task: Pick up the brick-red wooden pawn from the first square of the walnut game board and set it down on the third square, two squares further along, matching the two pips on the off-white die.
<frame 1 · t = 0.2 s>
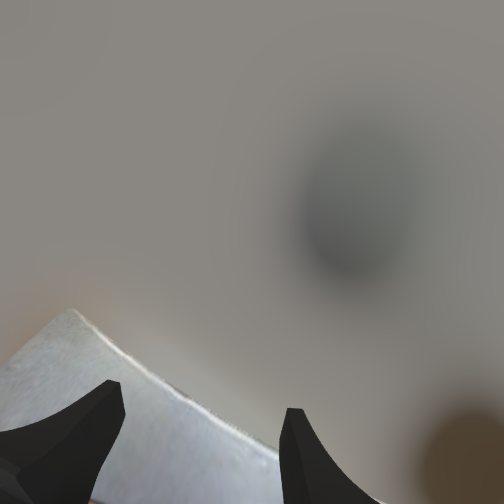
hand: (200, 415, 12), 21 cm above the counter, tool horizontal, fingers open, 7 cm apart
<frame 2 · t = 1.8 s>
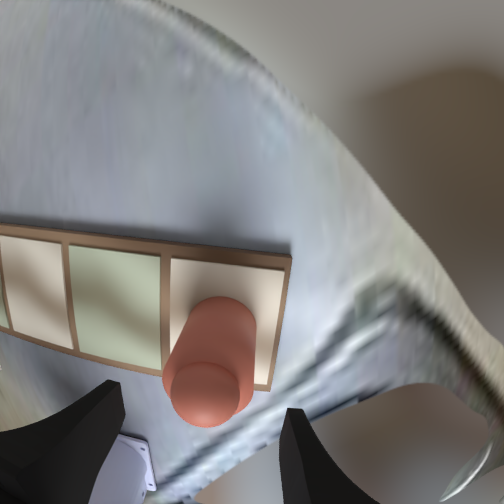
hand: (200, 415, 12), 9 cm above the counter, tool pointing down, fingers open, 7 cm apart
board: (75, 296, 21), on the counter
pawn: (221, 328, 20), point 1 cm above the counter, touching board
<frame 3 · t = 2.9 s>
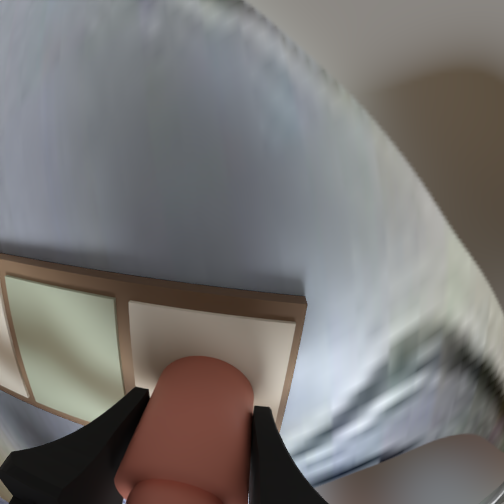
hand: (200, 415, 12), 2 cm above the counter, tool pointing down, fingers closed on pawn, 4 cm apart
board: (24, 337, 14), on the counter
pawn: (205, 394, 13), point 1 cm above the counter, touching board, gripper
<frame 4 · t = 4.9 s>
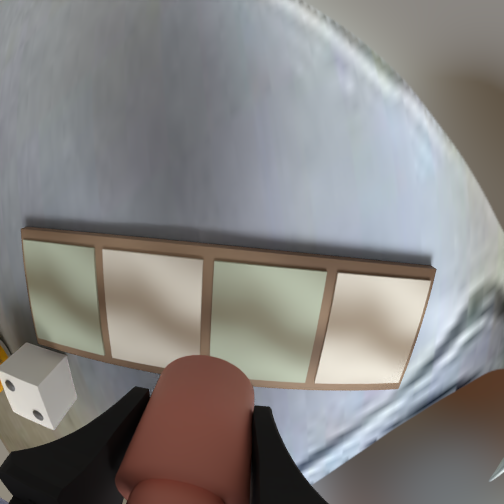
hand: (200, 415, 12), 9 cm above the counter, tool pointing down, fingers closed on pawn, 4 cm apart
die: (51, 370, 24), on the counter
board: (208, 316, 21), on the counter
pawn: (205, 393, 13), point 8 cm above the counter, touching gripper
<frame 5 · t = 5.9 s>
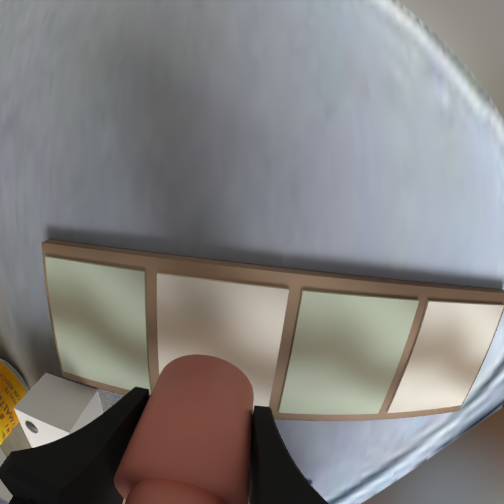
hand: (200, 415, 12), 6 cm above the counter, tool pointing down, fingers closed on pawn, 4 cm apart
die: (77, 403, 20), on the counter
board: (282, 350, 18), on the counter
pawn: (205, 393, 13), point 5 cm above the counter, touching gripper
beer can: (11, 380, 21), on the counter
when the fingers open (3 cm above the counter, at t = 6.8 s): pawn stays where it is, resting on board.
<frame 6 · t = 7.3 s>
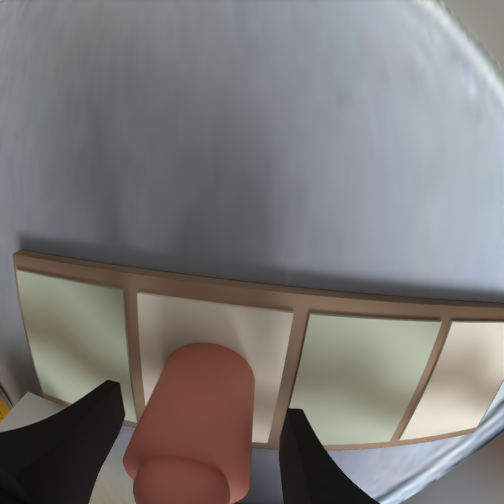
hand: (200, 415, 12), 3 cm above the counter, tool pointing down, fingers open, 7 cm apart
die: (61, 424, 18), on the counter
board: (285, 377, 15), on the counter
pawn: (208, 380, 14), point 1 cm above the counter, touching board
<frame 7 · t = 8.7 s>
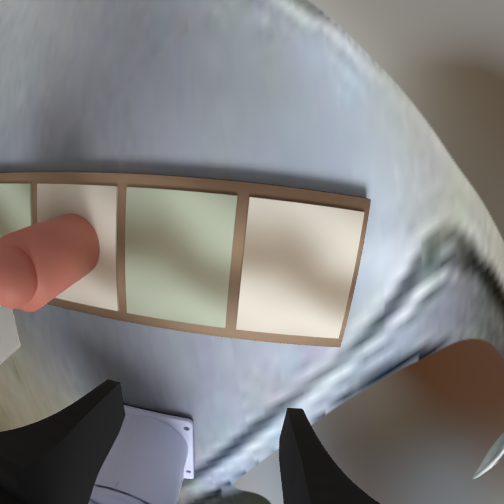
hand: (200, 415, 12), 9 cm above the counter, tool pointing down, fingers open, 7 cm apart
board: (126, 248, 20), on the counter
pawn: (73, 245, 19), point 1 cm above the counter, touching board
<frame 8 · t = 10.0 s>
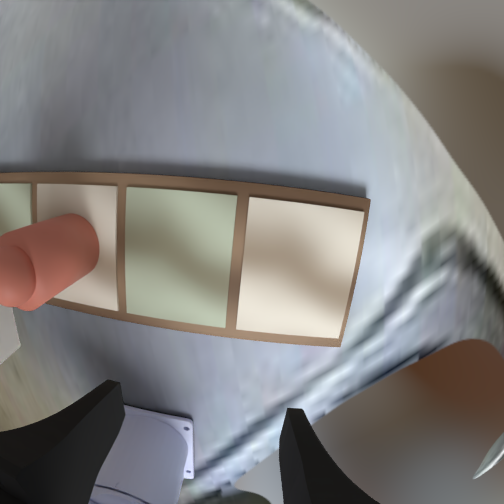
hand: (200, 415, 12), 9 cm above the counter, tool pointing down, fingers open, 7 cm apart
board: (126, 248, 20), on the counter
pawn: (73, 245, 19), point 1 cm above the counter, touching board
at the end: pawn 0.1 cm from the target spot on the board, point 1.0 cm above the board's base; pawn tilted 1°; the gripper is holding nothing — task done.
